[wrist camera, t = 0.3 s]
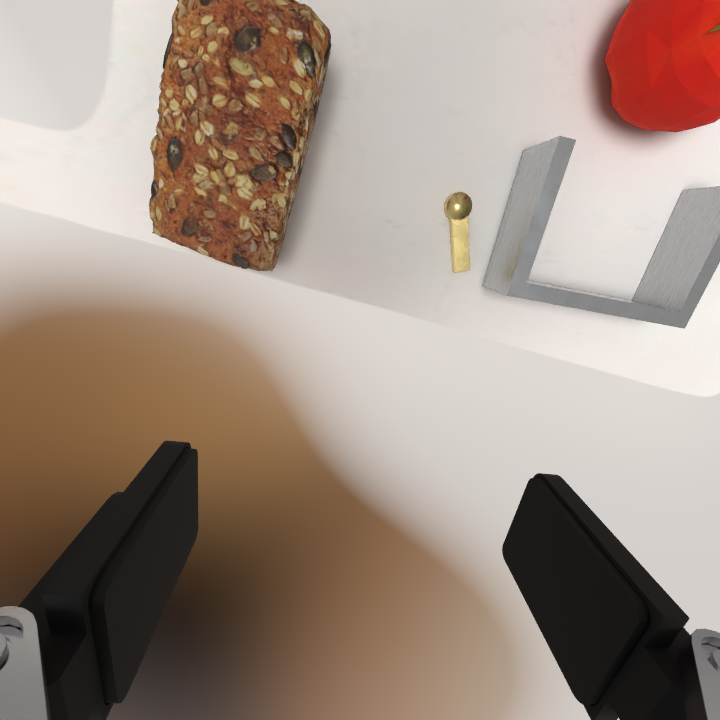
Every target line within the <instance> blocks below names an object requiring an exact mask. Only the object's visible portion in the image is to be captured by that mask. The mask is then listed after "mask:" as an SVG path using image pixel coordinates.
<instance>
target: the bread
mask: <svg viewBox="0 0 720 720" xmlns="http://www.w3.org/2000/svg"><path fill="white" fill-rule="evenodd" d="M177 1H178V5H177V7H176V9H175V12H174V14H173V17H172V34H171V36H170V38H169V42H168V45H167V48H166V52H165V55H164V62H163V69H164V72H163V73H162V75H161V77H162V80H161V83H160V86H159V87H160V89H161V93H160V96H159V108H158V110H157V111H158V113H159V122H158V124H157V127H156V132H157V135H156V136H155V137H154V138H153V140H152V142H151V148H150V149H151V151H152V155H153V158H154V180H153V183H152V185H151V195H152V196H151V198H150V204H149V207H150V218H151V219H152V221H153V227H154V228H153V233H155V234H157V235H159V236H160V237H164V238H166V239H168V240H170V241H172V242H175V243H177V244H179V245H181V246H185V247H188V248H190V249H192V250H194V251H197V252H199V253H201V254H203V255H206V256H209V257H212V258H214V259H216V260H219V261H221V262H224V263H227V264H230V265H234V266H238V267H241V268H244V269H247V268H250V269H254V270H257V271H269V270H270V271H272V269H273V268H274V267H275V266H276V262H277V257H278V254H279V250H280V247H281V244H282V241H283V239H284V235H285V231H286V224H287V220H288V218H289V215H290V210H291V206H292V204H293V200H294V197H295V193H296V189H297V185H298V181H299V177H300V174H301V171H302V167H303V163H304V158H305V154H306V152H307V148H308V144H309V140H310V135H311V132H312V129H313V125H314V122H315V118H316V113H317V109H318V104H319V101H320V97H321V93H322V88H323V83H324V80H325V75H326V71H327V67H328V60H329V56H330V49H331V41H330V39H331V35H330V31H329V29H328V28H327V27H326V25H325V24H324V23H323V22H322V21H321V20H320V19H319V18H318V16H317V15H316V14H315V13H314V11H313V10H312V9H311V8H310V7H309V6H307V5H305V4H300V3H298V2H296V1H294V0H177Z"/></svg>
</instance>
